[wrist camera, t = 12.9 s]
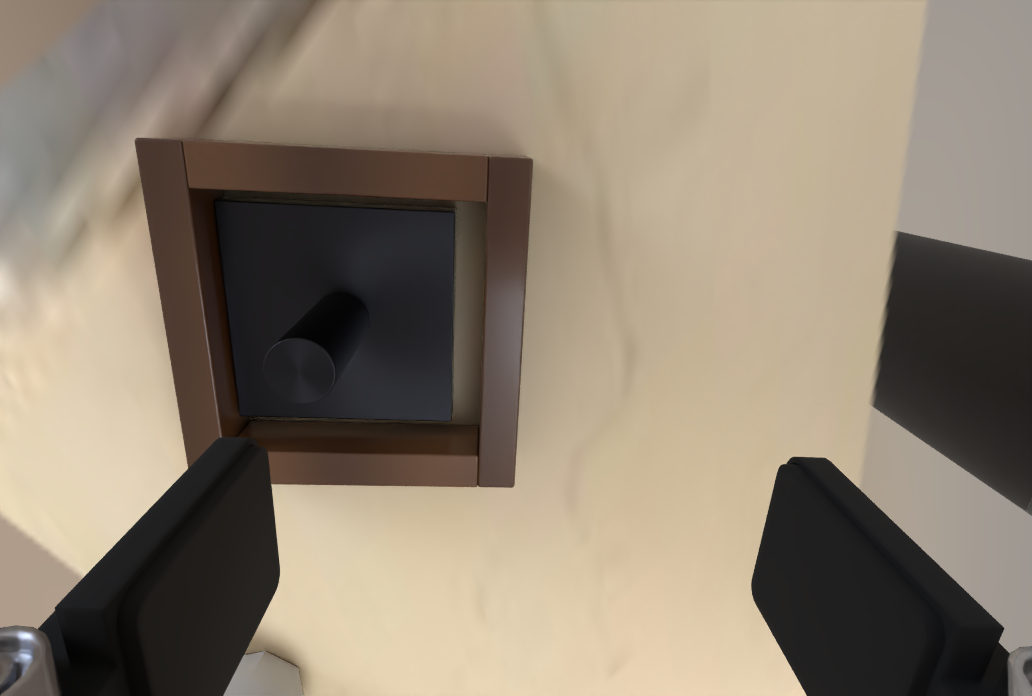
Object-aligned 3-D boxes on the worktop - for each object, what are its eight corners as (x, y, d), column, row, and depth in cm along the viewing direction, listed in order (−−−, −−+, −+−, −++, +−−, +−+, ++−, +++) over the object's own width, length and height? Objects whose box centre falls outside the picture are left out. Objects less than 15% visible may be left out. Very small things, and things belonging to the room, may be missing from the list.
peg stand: (456, 208, 21) (446, 234, 15) (453, 408, 23) (442, 497, 18) (228, 196, 20) (123, 219, 14) (251, 402, 23) (171, 492, 17)
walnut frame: (527, 156, 20) (533, 158, 18) (511, 455, 24) (514, 488, 22) (175, 137, 19) (132, 137, 17) (219, 449, 23) (189, 483, 21)
